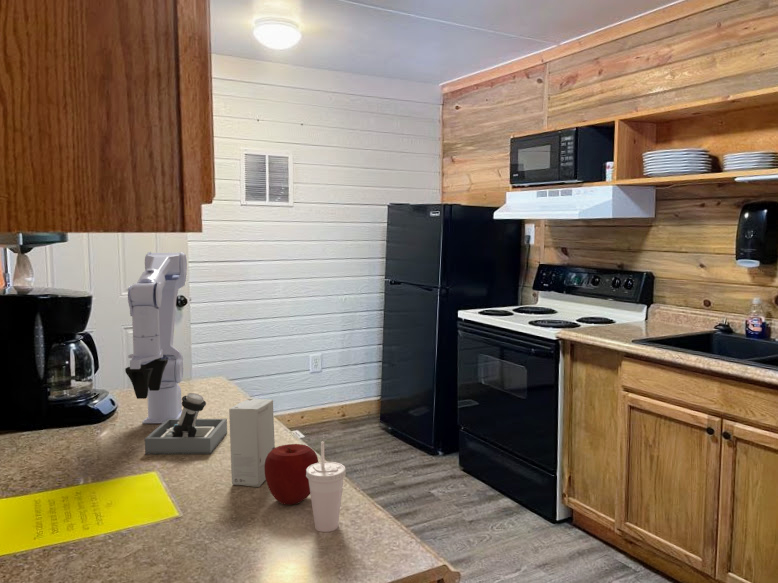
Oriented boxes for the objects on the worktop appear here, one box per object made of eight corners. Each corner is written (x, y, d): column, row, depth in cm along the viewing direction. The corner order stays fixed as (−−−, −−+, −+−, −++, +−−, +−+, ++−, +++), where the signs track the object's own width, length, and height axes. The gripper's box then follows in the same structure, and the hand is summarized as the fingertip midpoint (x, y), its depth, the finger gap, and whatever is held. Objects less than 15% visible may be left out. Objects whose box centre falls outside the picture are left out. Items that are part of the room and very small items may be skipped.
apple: (280, 486, 116) (279, 434, 115) (328, 492, 113) (327, 439, 112) (255, 507, 107) (253, 451, 106) (305, 515, 104) (304, 457, 103)
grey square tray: (168, 433, 147) (167, 418, 146) (227, 433, 147) (226, 418, 146) (145, 454, 133) (144, 438, 132) (210, 454, 133) (210, 438, 133)
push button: (167, 441, 135) (181, 399, 134) (161, 430, 139) (175, 389, 138) (196, 443, 139) (210, 402, 138) (189, 432, 143) (203, 393, 142)
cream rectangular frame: (171, 435, 144) (171, 426, 144) (215, 435, 144) (215, 426, 144) (159, 447, 136) (158, 438, 135) (205, 447, 136) (205, 438, 135)
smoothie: (318, 514, 104) (317, 434, 103) (352, 521, 102) (352, 438, 101) (299, 531, 98) (297, 446, 97) (335, 539, 96) (334, 451, 95)
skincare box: (259, 488, 115) (257, 410, 114) (229, 485, 117) (227, 408, 115) (276, 471, 123) (275, 398, 122) (248, 468, 125) (246, 396, 123)
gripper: (141, 331, 148) (143, 387, 149) (114, 340, 134) (117, 402, 135) (170, 331, 148) (172, 386, 149) (147, 340, 134) (149, 402, 135)
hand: (148, 394), depth 142 cm, fingers open, 7 cm apart
